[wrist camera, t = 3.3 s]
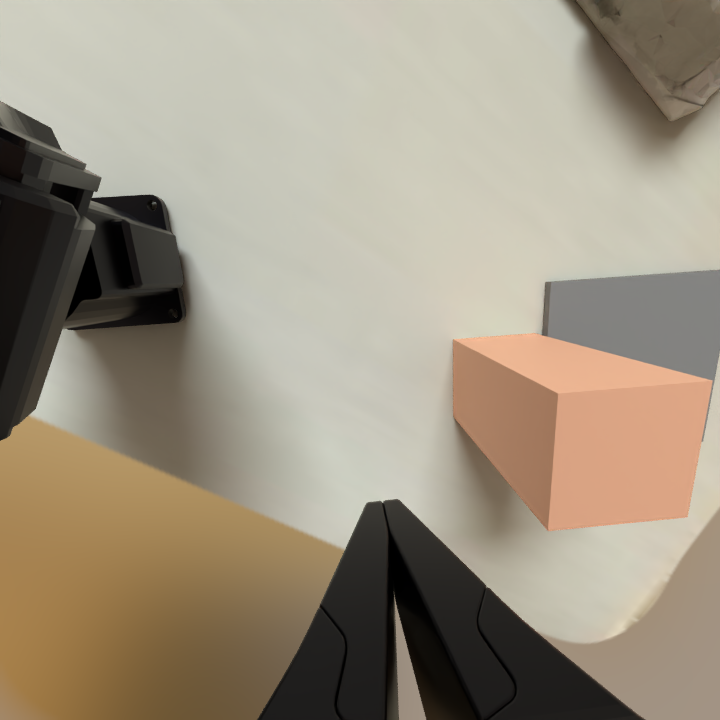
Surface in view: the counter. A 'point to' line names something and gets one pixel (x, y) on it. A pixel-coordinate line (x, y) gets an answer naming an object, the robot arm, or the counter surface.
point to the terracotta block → (581, 428)
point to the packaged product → (665, 47)
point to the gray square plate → (642, 318)
